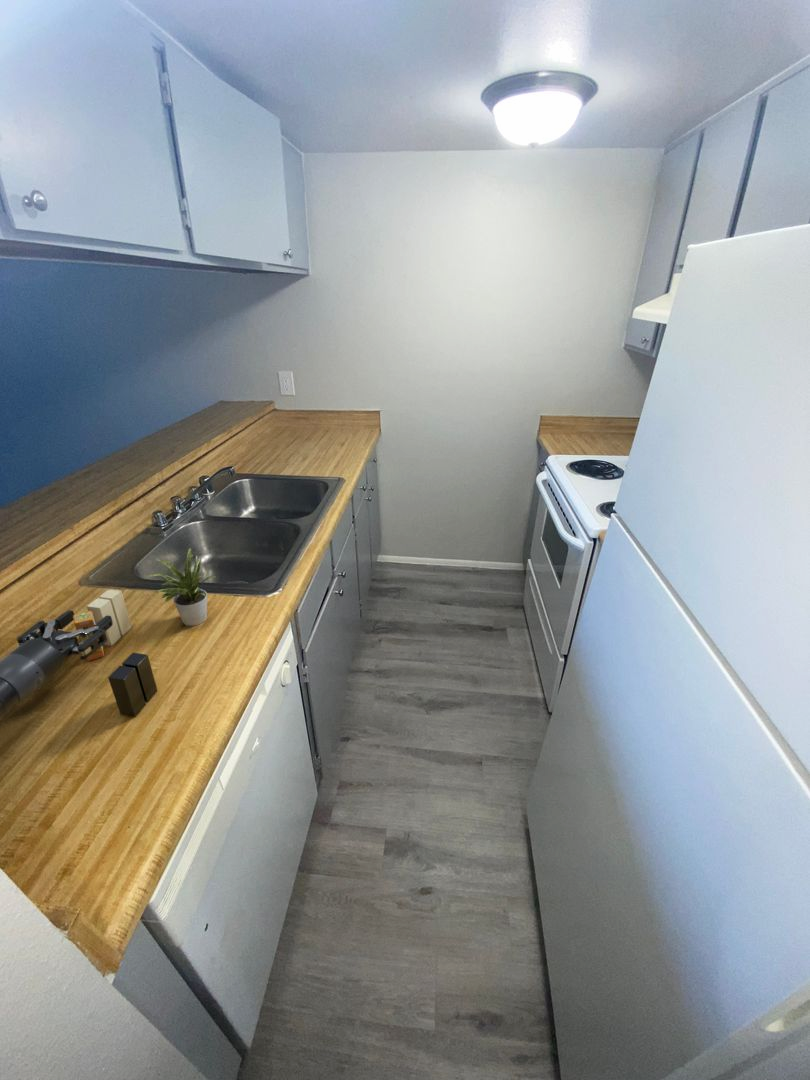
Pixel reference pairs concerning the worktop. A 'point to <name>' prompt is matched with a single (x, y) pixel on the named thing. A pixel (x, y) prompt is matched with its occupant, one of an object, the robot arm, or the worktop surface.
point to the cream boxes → (111, 614)
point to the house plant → (186, 592)
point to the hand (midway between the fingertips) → (91, 616)
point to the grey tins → (133, 684)
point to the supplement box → (84, 623)
